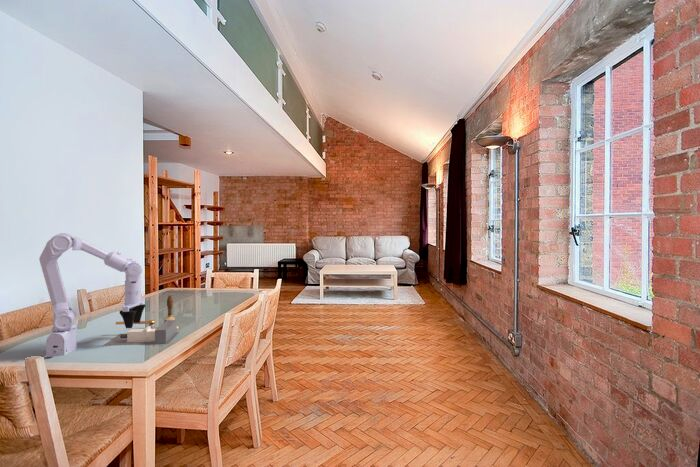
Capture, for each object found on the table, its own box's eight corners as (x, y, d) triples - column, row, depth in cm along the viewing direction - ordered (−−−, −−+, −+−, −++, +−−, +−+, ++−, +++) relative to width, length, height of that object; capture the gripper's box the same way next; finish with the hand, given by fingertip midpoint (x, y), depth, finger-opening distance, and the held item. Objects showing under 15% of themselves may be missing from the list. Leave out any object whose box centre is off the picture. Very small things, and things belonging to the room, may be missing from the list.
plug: (164, 341, 150) (164, 328, 150) (118, 342, 147) (118, 329, 147) (168, 338, 154) (168, 325, 154) (123, 339, 151) (123, 326, 151)
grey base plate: (168, 345, 147) (168, 329, 147) (102, 347, 143) (102, 331, 143) (179, 333, 163) (179, 319, 162) (120, 335, 159) (120, 320, 158)
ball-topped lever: (114, 324, 156) (114, 322, 156) (117, 323, 158) (117, 320, 158) (153, 323, 158) (153, 321, 158) (155, 322, 161) (155, 319, 161)
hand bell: (183, 329, 170) (183, 294, 169) (166, 333, 162) (166, 297, 162) (172, 326, 174) (172, 292, 173) (155, 330, 167) (155, 295, 166)
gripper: (136, 295, 143) (136, 330, 143) (150, 288, 157) (150, 320, 157) (116, 295, 142) (116, 330, 142) (132, 288, 156) (132, 320, 156)
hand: (133, 325), depth 150 cm, fingers open, 7 cm apart
